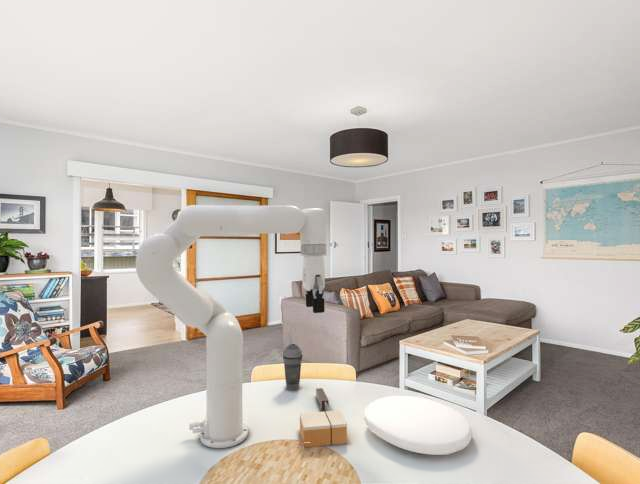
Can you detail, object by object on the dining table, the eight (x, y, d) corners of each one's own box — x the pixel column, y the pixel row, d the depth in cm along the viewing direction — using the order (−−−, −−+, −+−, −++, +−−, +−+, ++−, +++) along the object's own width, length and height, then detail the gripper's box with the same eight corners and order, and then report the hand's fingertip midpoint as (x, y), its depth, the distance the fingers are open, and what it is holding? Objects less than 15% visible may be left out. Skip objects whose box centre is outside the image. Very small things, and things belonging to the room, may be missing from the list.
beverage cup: (295, 393, 128) (294, 335, 129) (278, 389, 132) (278, 332, 132) (306, 386, 134) (306, 331, 135) (290, 382, 138) (290, 329, 139)
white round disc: (476, 406, 107) (467, 453, 83) (473, 428, 107) (465, 482, 83) (382, 379, 120) (352, 414, 96) (380, 399, 120) (349, 438, 96)
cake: (304, 447, 94) (303, 427, 94) (299, 431, 102) (299, 413, 102) (330, 444, 95) (330, 425, 96) (324, 429, 103) (324, 411, 103)
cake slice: (331, 444, 95) (331, 425, 96) (325, 429, 103) (325, 411, 103) (346, 443, 96) (346, 423, 96) (339, 428, 104) (339, 410, 104)
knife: (327, 424, 106) (327, 414, 106) (316, 397, 125) (316, 388, 125) (335, 424, 106) (335, 413, 106) (322, 396, 125) (322, 388, 125)
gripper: (295, 250, 115) (297, 305, 115) (306, 251, 99) (308, 316, 98) (319, 249, 117) (320, 303, 117) (333, 251, 100) (335, 314, 100)
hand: (314, 309), depth 107 cm, fingers open, 9 cm apart
